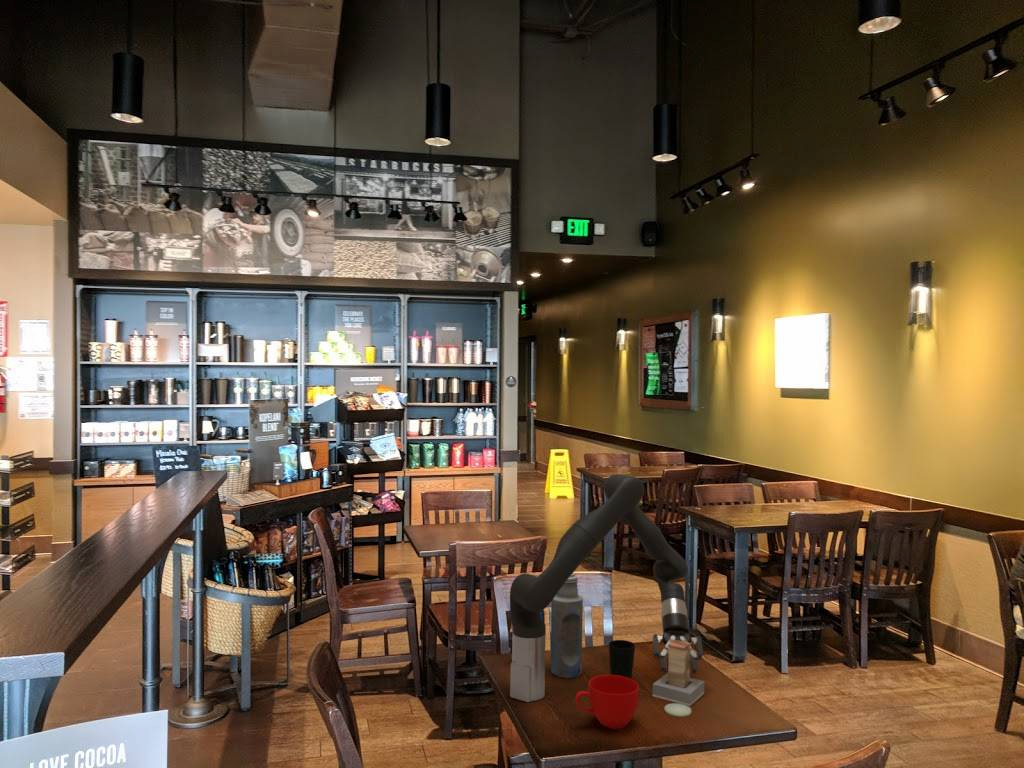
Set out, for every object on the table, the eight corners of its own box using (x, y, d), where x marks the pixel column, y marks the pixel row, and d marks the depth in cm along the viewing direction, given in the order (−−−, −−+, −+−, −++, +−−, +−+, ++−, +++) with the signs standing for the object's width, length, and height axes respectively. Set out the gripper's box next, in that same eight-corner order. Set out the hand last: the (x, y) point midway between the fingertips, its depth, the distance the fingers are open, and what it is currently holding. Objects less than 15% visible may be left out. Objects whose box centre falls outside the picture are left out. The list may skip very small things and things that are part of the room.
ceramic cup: (566, 716, 195) (567, 678, 195) (625, 710, 199) (626, 672, 200) (584, 739, 182) (585, 698, 182) (647, 731, 187) (648, 691, 187)
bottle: (555, 679, 219) (557, 578, 220) (546, 667, 229) (548, 570, 229) (586, 677, 222) (588, 576, 222) (575, 665, 231) (577, 568, 232)
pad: (685, 719, 194) (685, 716, 194) (660, 712, 198) (660, 710, 198) (695, 710, 200) (695, 707, 200) (670, 703, 204) (670, 701, 204)
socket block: (690, 706, 203) (690, 693, 203) (652, 696, 209) (652, 684, 209) (704, 693, 212) (704, 681, 212) (667, 683, 218) (668, 672, 218)
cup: (633, 692, 212) (634, 649, 212) (606, 689, 213) (607, 647, 213) (634, 681, 219) (635, 641, 219) (608, 679, 221) (609, 638, 221)
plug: (683, 697, 207) (684, 647, 207) (667, 693, 210) (668, 644, 210) (689, 691, 211) (690, 643, 211) (673, 687, 214) (674, 639, 214)
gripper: (651, 610, 218) (655, 664, 207) (700, 612, 217) (707, 667, 206) (649, 623, 224) (652, 676, 212) (697, 625, 223) (703, 678, 211)
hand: (679, 671), depth 209 cm, fingers open, 7 cm apart
